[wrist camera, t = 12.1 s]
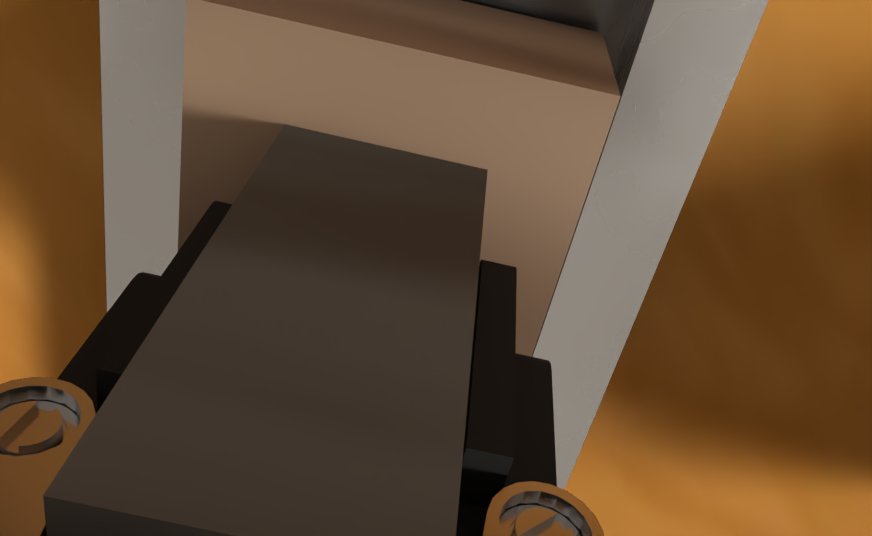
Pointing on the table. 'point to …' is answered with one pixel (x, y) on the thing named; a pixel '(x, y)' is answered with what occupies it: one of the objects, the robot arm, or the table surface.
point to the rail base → (603, 208)
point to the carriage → (341, 265)
